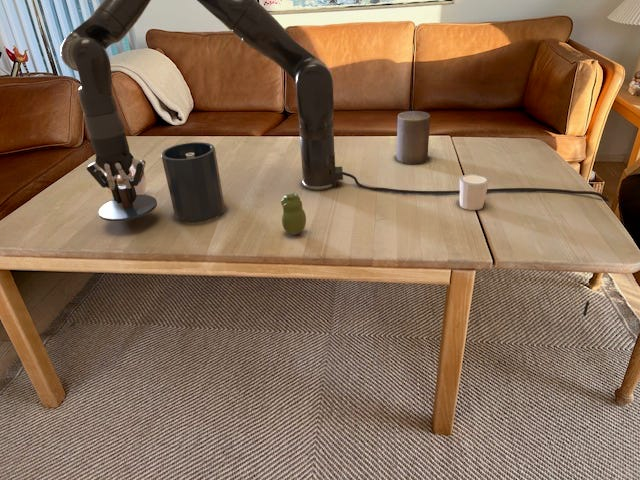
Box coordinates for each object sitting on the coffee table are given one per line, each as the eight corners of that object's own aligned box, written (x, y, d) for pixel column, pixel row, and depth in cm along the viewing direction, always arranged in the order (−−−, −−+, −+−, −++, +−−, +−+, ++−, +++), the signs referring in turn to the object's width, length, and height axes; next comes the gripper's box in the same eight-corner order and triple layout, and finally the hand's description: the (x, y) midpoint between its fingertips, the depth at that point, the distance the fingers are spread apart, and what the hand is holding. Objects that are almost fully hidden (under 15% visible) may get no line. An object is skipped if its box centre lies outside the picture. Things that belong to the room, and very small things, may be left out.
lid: (164, 197, 123) (158, 174, 120) (148, 221, 111) (141, 197, 108) (112, 200, 123) (105, 178, 120) (90, 225, 112) (82, 201, 108)
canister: (228, 201, 129) (218, 140, 120) (220, 223, 118) (208, 158, 109) (182, 203, 129) (169, 143, 121) (169, 225, 118) (154, 161, 110)
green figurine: (287, 240, 109) (283, 200, 104) (279, 230, 113) (275, 192, 108) (310, 234, 111) (307, 195, 106) (301, 225, 115) (298, 187, 110)
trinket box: (101, 204, 131) (91, 173, 126) (127, 189, 139) (119, 158, 135) (133, 209, 127) (124, 176, 123) (157, 193, 136) (150, 161, 131)
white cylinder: (470, 213, 116) (473, 187, 112) (451, 203, 121) (453, 177, 118) (491, 206, 118) (495, 180, 115) (472, 196, 124) (475, 171, 120)
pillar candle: (432, 156, 150) (435, 108, 143) (420, 166, 143) (423, 116, 136) (403, 151, 155) (405, 105, 148) (390, 161, 148) (392, 113, 141)
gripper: (68, 139, 104) (92, 210, 113) (131, 135, 104) (150, 206, 113) (83, 129, 111) (104, 196, 119) (142, 125, 110) (159, 193, 119)
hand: (126, 201), depth 116 cm, fingers closed on lid, 2 cm apart
